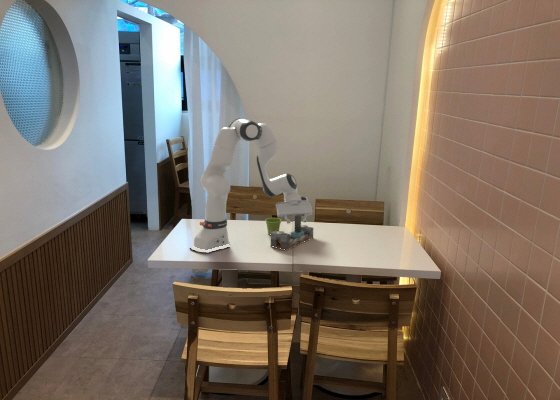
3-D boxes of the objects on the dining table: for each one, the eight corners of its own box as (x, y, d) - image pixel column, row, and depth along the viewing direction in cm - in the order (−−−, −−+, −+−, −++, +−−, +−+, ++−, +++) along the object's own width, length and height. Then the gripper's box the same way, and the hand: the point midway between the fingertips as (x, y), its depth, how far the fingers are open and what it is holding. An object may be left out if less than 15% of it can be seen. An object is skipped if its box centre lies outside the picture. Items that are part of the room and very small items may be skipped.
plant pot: (281, 236, 263) (281, 222, 261) (264, 236, 263) (264, 222, 261) (281, 232, 272) (281, 217, 270) (265, 231, 272) (265, 217, 270)
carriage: (298, 239, 253) (298, 218, 250) (290, 237, 256) (291, 216, 253) (304, 236, 258) (304, 215, 255) (296, 234, 261) (297, 214, 258)
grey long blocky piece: (285, 250, 240) (286, 235, 238) (270, 246, 246) (270, 231, 244) (313, 237, 261) (313, 223, 259) (298, 234, 267) (298, 220, 265)
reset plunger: (281, 244, 243) (281, 240, 243) (278, 243, 244) (278, 239, 244) (287, 241, 247) (287, 238, 247) (284, 241, 248) (284, 237, 248)
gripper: (275, 199, 259) (280, 220, 252) (310, 197, 264) (315, 218, 257) (274, 205, 264) (278, 226, 257) (307, 203, 269) (312, 224, 262)
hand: (297, 222), depth 257 cm, fingers open, 8 cm apart
